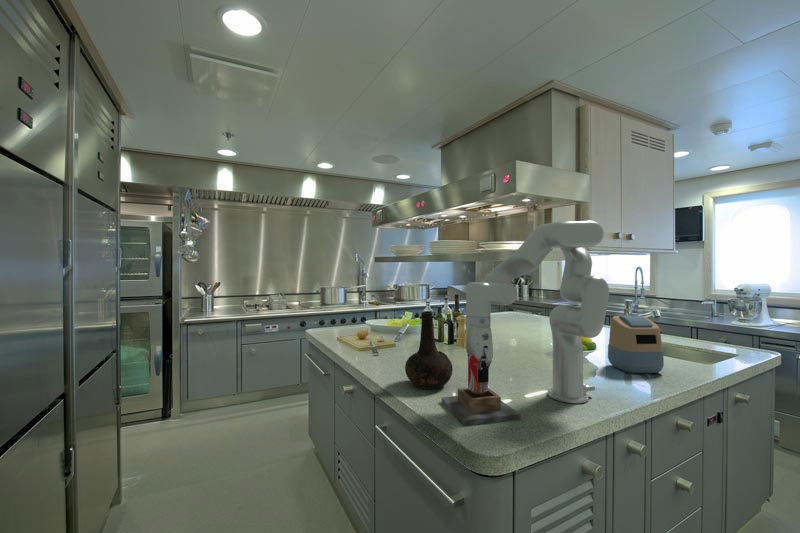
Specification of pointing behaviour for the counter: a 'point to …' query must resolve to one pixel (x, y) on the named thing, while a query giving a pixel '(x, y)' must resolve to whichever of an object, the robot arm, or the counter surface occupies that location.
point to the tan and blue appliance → (635, 345)
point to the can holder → (479, 407)
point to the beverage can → (475, 376)
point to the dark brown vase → (428, 359)
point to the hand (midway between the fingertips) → (478, 378)
